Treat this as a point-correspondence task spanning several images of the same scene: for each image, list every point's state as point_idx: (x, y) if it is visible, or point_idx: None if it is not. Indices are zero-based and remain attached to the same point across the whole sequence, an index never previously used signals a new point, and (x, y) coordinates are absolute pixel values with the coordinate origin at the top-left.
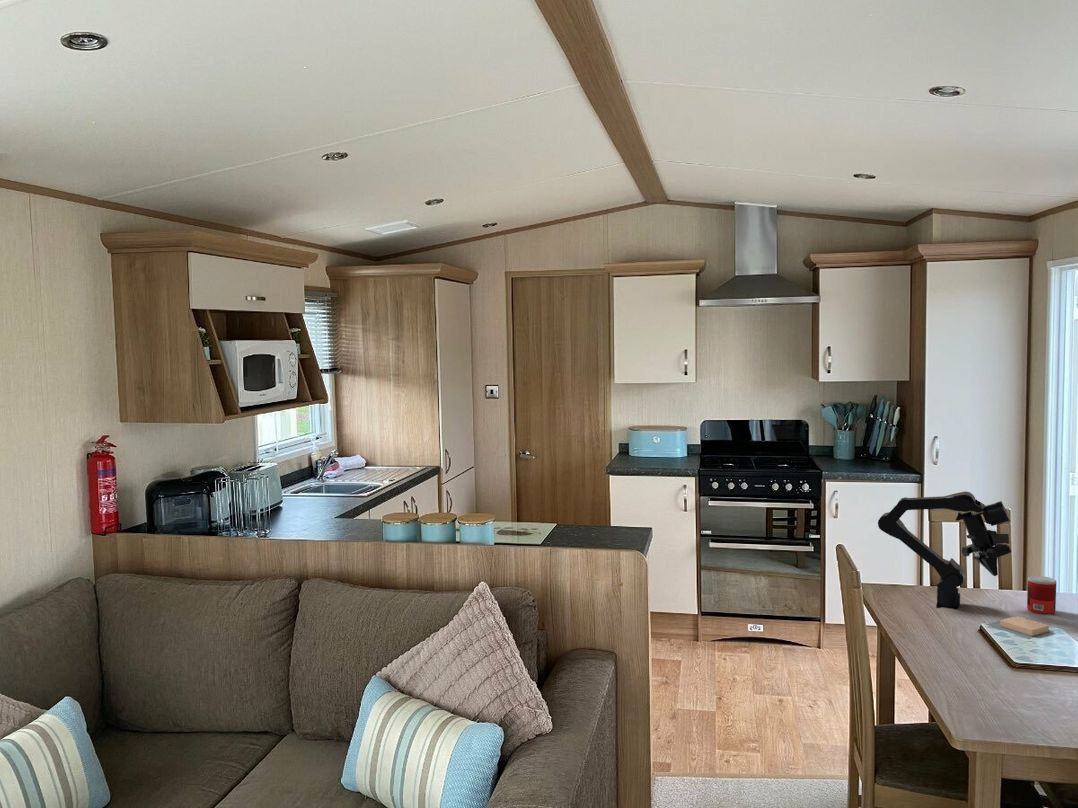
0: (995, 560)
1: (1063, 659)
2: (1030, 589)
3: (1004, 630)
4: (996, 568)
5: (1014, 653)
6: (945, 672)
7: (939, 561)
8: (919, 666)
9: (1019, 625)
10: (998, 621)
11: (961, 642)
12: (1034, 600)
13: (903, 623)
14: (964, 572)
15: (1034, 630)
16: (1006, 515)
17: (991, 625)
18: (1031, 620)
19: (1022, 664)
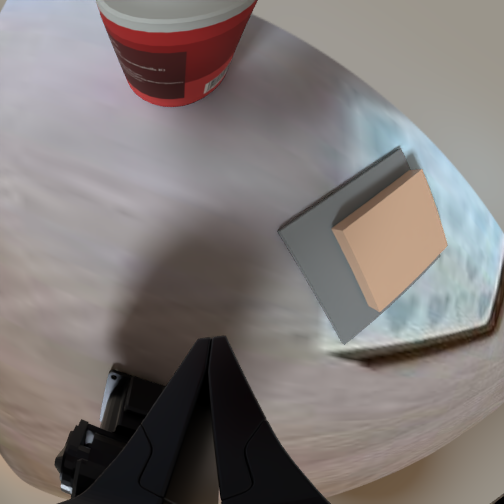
0: (302, 492)
1: (494, 231)
2: (189, 59)
3: (393, 301)
4: (253, 395)
5: (471, 314)
6: (472, 410)
7: None
8: (452, 436)
9: (420, 265)
10: (321, 294)
11: (417, 401)
12: (210, 74)
13: None
14: (94, 466)
15: (442, 233)
16: None
17: (354, 328)
18: (384, 198)
19: (493, 313)
